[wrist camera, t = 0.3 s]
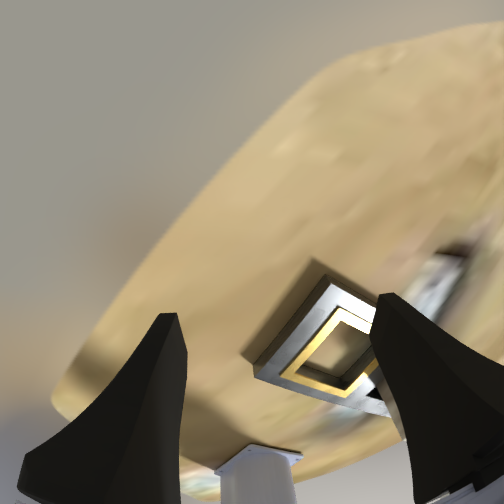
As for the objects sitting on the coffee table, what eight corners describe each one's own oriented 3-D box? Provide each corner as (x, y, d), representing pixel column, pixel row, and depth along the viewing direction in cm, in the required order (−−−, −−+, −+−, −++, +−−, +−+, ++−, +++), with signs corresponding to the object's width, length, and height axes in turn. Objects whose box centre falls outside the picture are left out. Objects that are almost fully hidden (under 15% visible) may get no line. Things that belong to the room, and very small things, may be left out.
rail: (394, 410, 30) (399, 420, 28) (252, 365, 25) (254, 379, 23) (453, 350, 27) (460, 359, 25) (325, 273, 22) (332, 284, 20)
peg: (395, 388, 28) (424, 442, 20) (373, 380, 27) (402, 440, 19) (420, 362, 27) (455, 415, 19) (399, 353, 26) (436, 411, 18)
